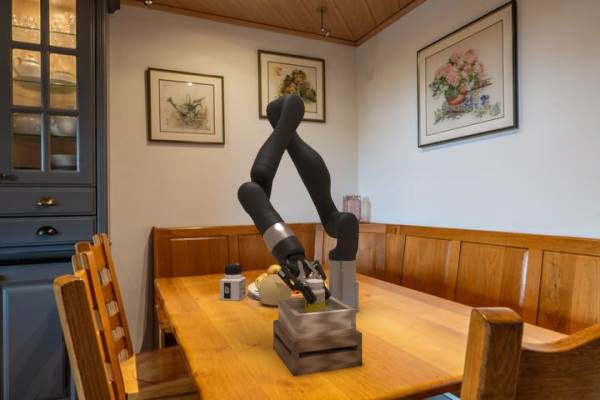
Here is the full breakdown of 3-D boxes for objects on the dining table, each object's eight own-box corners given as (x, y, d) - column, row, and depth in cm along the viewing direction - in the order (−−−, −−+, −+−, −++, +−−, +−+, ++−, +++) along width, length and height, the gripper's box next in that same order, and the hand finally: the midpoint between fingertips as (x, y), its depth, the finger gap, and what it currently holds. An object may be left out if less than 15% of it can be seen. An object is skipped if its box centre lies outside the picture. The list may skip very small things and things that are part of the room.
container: (239, 301, 143) (239, 266, 143) (219, 300, 144) (219, 265, 144) (246, 296, 150) (246, 263, 150) (227, 295, 152) (227, 262, 152)
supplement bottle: (303, 313, 92) (303, 278, 92) (323, 313, 92) (323, 278, 92) (305, 319, 87) (305, 282, 87) (326, 319, 88) (326, 282, 88)
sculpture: (291, 308, 132) (291, 277, 132) (256, 308, 132) (256, 277, 133) (292, 300, 144) (292, 271, 144) (260, 300, 144) (260, 271, 144)
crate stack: (332, 341, 100) (332, 295, 100) (362, 365, 84) (362, 310, 85) (273, 348, 94) (273, 300, 95) (293, 375, 79) (293, 317, 80)
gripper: (270, 236, 90) (310, 296, 81) (309, 233, 100) (348, 285, 92) (255, 257, 93) (292, 316, 85) (294, 251, 104) (330, 303, 96)
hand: (321, 300), depth 89 cm, fingers closed on supplement bottle, 4 cm apart
